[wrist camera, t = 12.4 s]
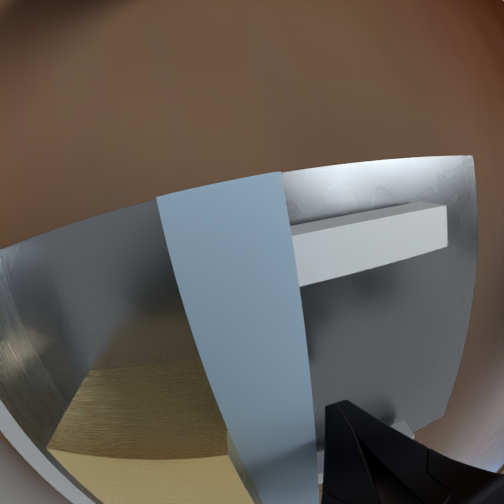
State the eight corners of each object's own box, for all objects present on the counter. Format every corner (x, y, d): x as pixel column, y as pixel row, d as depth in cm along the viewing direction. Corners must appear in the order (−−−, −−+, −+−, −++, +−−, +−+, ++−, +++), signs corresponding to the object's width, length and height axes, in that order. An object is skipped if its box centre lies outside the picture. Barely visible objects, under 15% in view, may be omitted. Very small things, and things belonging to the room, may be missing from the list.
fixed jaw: (-2, 250, 7) (-57, 274, 4) (137, 488, 10) (130, 528, 7) (-36, 265, 7) (-82, 287, 4) (95, 483, 10) (86, 519, 7)
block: (223, 353, 8) (228, 454, 5) (247, 430, 9) (260, 514, 6) (90, 369, 8) (46, 448, 4) (133, 440, 9) (116, 513, 5)
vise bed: (453, 156, 9) (472, 155, 8) (433, 404, 12) (443, 415, 11) (-20, 258, 8) (-36, 265, 7) (99, 470, 11) (95, 483, 10)
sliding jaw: (410, 157, 7) (479, 153, 5) (393, 443, 11) (416, 480, 8) (182, 192, 7) (156, 197, 4) (267, 483, 11) (276, 528, 8)
